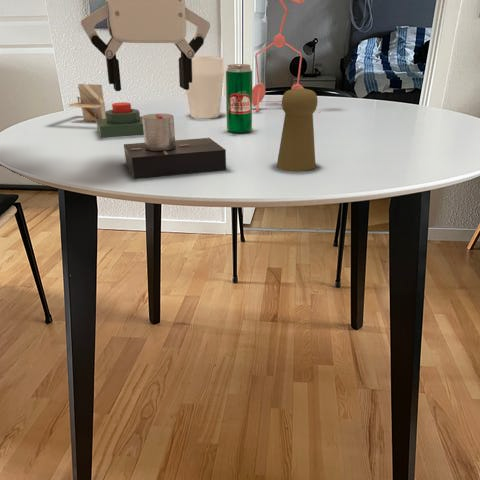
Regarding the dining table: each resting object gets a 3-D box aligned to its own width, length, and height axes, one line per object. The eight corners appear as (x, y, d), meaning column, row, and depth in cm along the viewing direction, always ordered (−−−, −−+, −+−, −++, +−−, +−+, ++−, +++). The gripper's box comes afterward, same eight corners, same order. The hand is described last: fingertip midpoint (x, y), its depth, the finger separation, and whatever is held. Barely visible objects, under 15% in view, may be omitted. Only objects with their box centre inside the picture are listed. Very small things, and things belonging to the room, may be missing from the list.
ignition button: (114, 115, 96) (112, 105, 95) (112, 112, 99) (110, 102, 98) (132, 114, 97) (131, 104, 96) (130, 111, 100) (129, 101, 99)
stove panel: (134, 178, 72) (131, 156, 71) (126, 163, 80) (123, 143, 78) (226, 170, 76) (225, 148, 74) (210, 156, 83) (209, 136, 82)
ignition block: (101, 138, 96) (98, 116, 93) (97, 130, 102) (94, 109, 100) (152, 134, 98) (150, 113, 96) (146, 127, 105) (144, 106, 103)
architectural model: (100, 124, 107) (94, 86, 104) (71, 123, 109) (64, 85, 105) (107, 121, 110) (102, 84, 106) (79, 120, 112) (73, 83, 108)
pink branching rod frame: (329, 115, 116) (345, -76, 97) (223, 111, 121) (219, -71, 103) (335, 104, 128) (350, -66, 110) (238, 101, 134) (237, -62, 115)
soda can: (226, 134, 98) (225, 66, 92) (226, 129, 102) (225, 63, 96) (252, 134, 98) (253, 66, 92) (251, 128, 103) (251, 63, 96)
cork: (323, 167, 77) (329, 89, 71) (291, 173, 74) (295, 93, 69) (300, 159, 81) (304, 85, 76) (269, 164, 79) (271, 88, 73)
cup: (210, 111, 121) (208, 55, 114) (232, 117, 114) (231, 58, 108) (178, 115, 116) (174, 57, 110) (199, 121, 110) (196, 60, 103)
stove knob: (142, 145, 77) (139, 112, 74) (172, 143, 78) (169, 110, 76) (148, 152, 73) (144, 117, 71) (178, 149, 74) (176, 115, 72)
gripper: (200, -53, 68) (203, 85, 77) (68, -62, 63) (87, 87, 72) (216, -59, 62) (216, 91, 71) (71, -69, 57) (91, 94, 66)
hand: (151, 89), depth 71 cm, fingers open, 9 cm apart
